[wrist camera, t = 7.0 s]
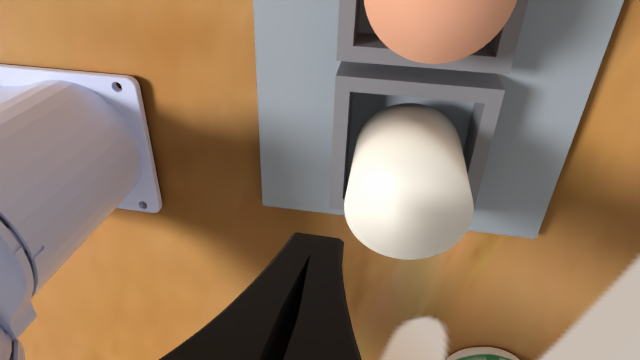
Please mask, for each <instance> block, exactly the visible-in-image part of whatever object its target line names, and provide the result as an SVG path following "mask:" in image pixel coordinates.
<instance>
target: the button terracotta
mask: <svg viewBox="0 0 640 360" xmlns="http://www.w3.org/2000/svg"><path fill="white" fill-rule="evenodd" d="M516 2H517V0H364V6H365V10H366V14H367V17H368V19H369V22H370V24H371V26H372V28H373V30H374V32H375V33H376V35H377V36H378V37H379V39H380V40H381V41H382V42H383V43H384V44H385V45H386V46H387V47H388V48H389V49H391V50H392V51H393V52H395V53H396V54H398V55H400V56H402V57H404V58H406V59H408V60H411V61H415V62H419V63H426V64H441V63H448V62H453V61H457V60H459V59H462V58H465V57H467V56H469V55H471V54H473V53H475V52H476V51H478V50H480V49H481V48H483V47H484V46H485V45H486V44H488V43H489V42H490V41H491V40H492V39H493V38H494V37H495V36H496V35H497V34H498V33H499V32H500V30H501V29H502V28H503V26H504V25H505V24H506V22H507V21H508V19H509V17H510V16H511V14H512V11H513V9H514V7H515V5H516Z"/></svg>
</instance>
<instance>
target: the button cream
mask: <svg viewBox="0 0 640 360" xmlns="http://www.w3.org/2000/svg"><path fill="white" fill-rule="evenodd" d="M344 212H345V218H346V221H347V224H348V226H349V228H350V230H351V231H352V232H353V234H354V235H355V236H356V237H357V239H358V240H359V241H360V242H362V243H363V244H364V245H365V246H367V247H368V248H370V249H371V250H373V251H375V252H377V253H379V254H382V255H384V256H388V257H391V258H397V259H406V260H414V259H423V258H428V257H432V256H435V255H438V254H440V253H442V252H445V251H446V250H448V249H450V248H451V247H453V246H454V245H455V244H456V243H458V242H459V241H460V240H461V239H462V238H463V236H464V235H465V234H466V232H467V230H468V229H469V227H470V224H471V222H472V218H473V213H474V204H473V198H472V193H471V189H470V184H469V179H468V174H467V170H466V165H465V160H464V156H463V151H462V146H461V141H460V137H459V134H458V132H457V130H456V128H455V126H454V125H453V123H452V122H451V121H450V120H449V119H448V118H447V117H446V116H445V115H444V114H443V113H441V112H440V111H438V110H436V109H434V108H432V107H429V106H426V105H423V104H417V103H401V104H396V105H392V106H389V107H386V108H384V109H382V110H380V111H379V112H377V113H376V114H374V115H373V116H372V117H371V118H369V120H368V121H367V122H366V123H365V124H364V126H363V127H362V129H361V131H360V133H359V135H358V138H357V142H356V147H355V152H354V157H353V162H352V167H351V171H350V176H349V181H348V186H347V191H346V196H345V202H344Z"/></svg>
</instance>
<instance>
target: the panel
mask: <svg viewBox="0 0 640 360" xmlns="http://www.w3.org/2000/svg"><path fill="white" fill-rule="evenodd" d="M623 2H624V0H517V2H516V5H515V7H514V9H513V11H512V14H511V16H510V17H509V19H508V21H507V22H506V24H505V25H504V26H503V28H502V29H501V30H500V32H499V33H498V34H497V35H496V36H495V37H494V38H493V39H492V40H491V41H490V42H489V43H488V44H486V45H485V46H484V47H483V48H481V49H480V50H478V51H476V52H475V53H473V54H471V55H469V56H467V57H465V58H462V59H459V60H457V61H453V62H448V63H441V64H426V63H419V62H415V61H411V60H408V59H406V58H404V57H402V56H400V55H398V54H396V53H395V52H393V51H392V50H391V49H389V48H388V47H387V46H386V45H385V44H384V43H383V42H382V41H381V40H380V39H379V37H378V36H377V35H376V33H375V32H374V30H373V28H372V26H371V24H370V22H369V19H368V17H367V14H366V10H365V6H364V0H253V9H254V31H255V52H256V74H257V96H258V117H259V139H260V161H261V182H262V204H263V206H271V207H279V208H287V209H295V210H303V211H312V212H320V213H328V214H336V215H344V216H345V212H344V202H345V196H346V191H347V186H348V181H349V176H350V171H351V167H352V162H353V157H354V152H355V147H356V142H357V138H358V135H359V133H360V131H361V129H362V127H363V126H364V124H365V123H366V122H367V121H368V120H369V118H371V117H372V116H373V115H374V114H376V113H377V112H379V111H380V110H382V109H384V108H386V107H389V106H392V105H396V104H401V103H417V104H423V105H426V106H429V107H432V108H434V109H436V110H438V111H440V112H441V113H443V114H444V115H445V116H446V117H447V118H448V119H449V120H450V121H451V122H452V123H453V125H454V126H455V128H456V130H457V132H458V134H459V137H460V141H461V146H462V151H463V156H464V160H465V165H466V170H467V174H468V179H469V184H470V189H471V193H472V198H473V204H474V213H473V218H472V222H471V224H470V227H469V229H468V230H467V231H475V232H484V233H492V234H500V235H508V236H516V237H524V238H533V239H536V238H537V235H538V232H539V230H540V227H541V224H542V222H543V219H544V216H545V213H546V211H547V208H548V205H549V203H550V200H551V197H552V194H553V192H554V189H555V186H556V184H557V181H558V178H559V175H560V173H561V170H562V167H563V165H564V162H565V159H566V156H567V154H568V151H569V148H570V146H571V143H572V140H573V137H574V135H575V132H576V129H577V127H578V124H579V121H580V118H581V116H582V113H583V110H584V108H585V105H586V102H587V100H588V97H589V94H590V91H591V89H592V86H593V83H594V81H595V78H596V75H597V72H598V70H599V67H600V64H601V62H602V59H603V56H604V53H605V51H606V48H607V45H608V43H609V40H610V37H611V34H612V32H613V29H614V26H615V24H616V21H617V18H618V15H619V13H620V10H621V7H622V5H623Z"/></svg>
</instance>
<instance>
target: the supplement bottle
mask: <svg viewBox="0 0 640 360" xmlns="http://www.w3.org/2000/svg"><path fill="white" fill-rule="evenodd" d="M446 360H519V359H518V358H517V357H516V356H514V355H513V354H511V353H509V352H507V351H504V350H502V349H498V348H493V347H472V348H466V349H463V350H460V351H457V352H455V353H454V354H452V355H451V356H449V357H448V358H447V359H446Z"/></svg>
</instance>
